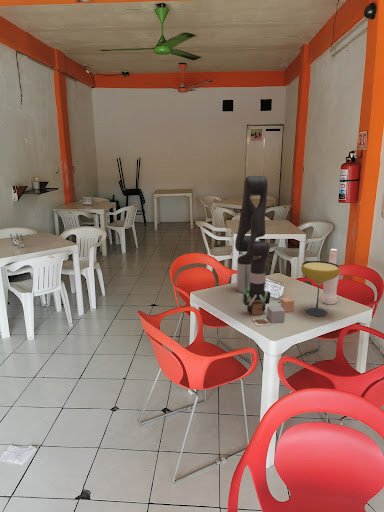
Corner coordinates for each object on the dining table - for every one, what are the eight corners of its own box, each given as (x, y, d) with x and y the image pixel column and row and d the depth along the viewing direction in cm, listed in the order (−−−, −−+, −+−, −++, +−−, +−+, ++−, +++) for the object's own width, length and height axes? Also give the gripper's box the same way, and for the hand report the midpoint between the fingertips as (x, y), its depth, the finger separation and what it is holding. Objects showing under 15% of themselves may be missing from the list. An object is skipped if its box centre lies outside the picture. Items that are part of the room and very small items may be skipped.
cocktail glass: (302, 319, 190) (306, 270, 184) (295, 305, 208) (298, 260, 202) (340, 320, 189) (345, 271, 183) (329, 306, 207) (333, 260, 200)
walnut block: (249, 312, 200) (250, 301, 198) (259, 311, 201) (259, 300, 199) (252, 315, 195) (253, 304, 194) (262, 315, 196) (262, 304, 194)
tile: (251, 320, 190) (252, 318, 190) (265, 319, 191) (265, 317, 191) (256, 326, 183) (256, 324, 183) (270, 325, 184) (270, 323, 184)
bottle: (317, 301, 214) (322, 248, 206) (328, 298, 217) (333, 246, 210) (329, 306, 207) (333, 251, 199) (339, 303, 210) (345, 249, 203)
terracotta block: (280, 309, 203) (281, 298, 202) (289, 308, 204) (290, 297, 203) (284, 312, 199) (284, 301, 197) (293, 312, 199) (294, 301, 198)
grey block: (266, 317, 193) (267, 306, 191) (279, 316, 194) (279, 305, 192) (271, 323, 187) (272, 311, 185) (284, 322, 188) (285, 310, 186)
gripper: (268, 277, 198) (267, 308, 202) (241, 279, 196) (240, 309, 200) (273, 282, 191) (272, 313, 195) (245, 283, 189) (244, 315, 193)
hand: (256, 311), depth 198 cm, fingers open, 6 cm apart
